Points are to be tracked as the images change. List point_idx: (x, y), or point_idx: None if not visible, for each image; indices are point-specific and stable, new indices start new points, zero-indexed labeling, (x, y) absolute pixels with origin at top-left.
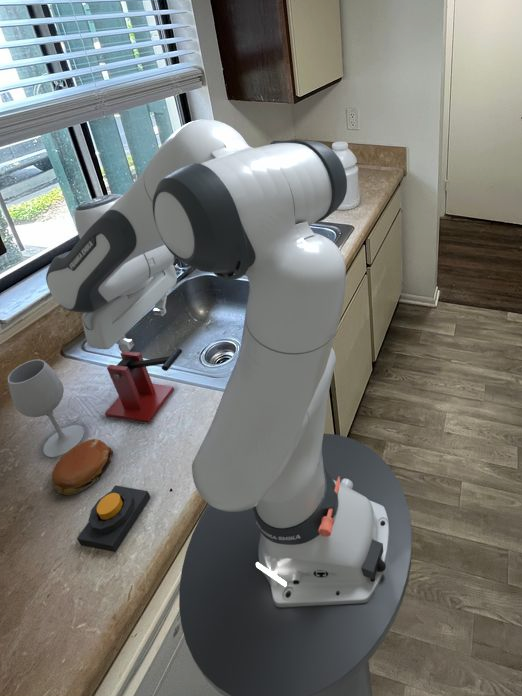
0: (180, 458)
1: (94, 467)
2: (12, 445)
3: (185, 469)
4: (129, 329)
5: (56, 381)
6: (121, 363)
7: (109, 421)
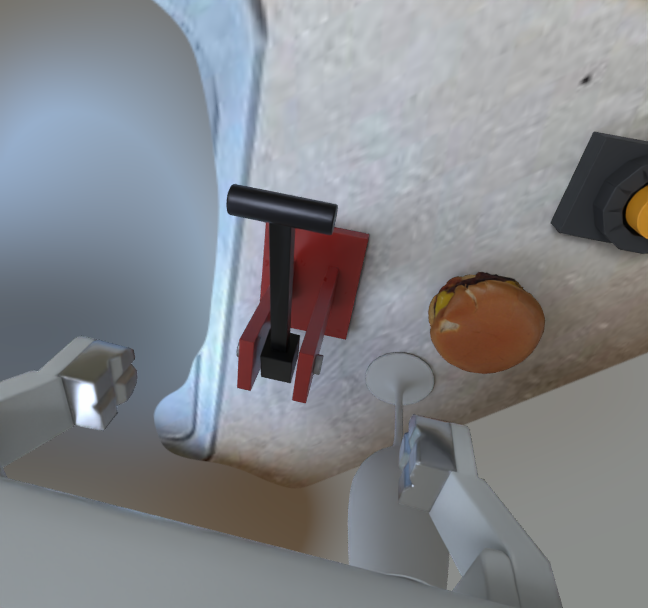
0: (488, 97)
1: (516, 298)
2: None
3: (528, 63)
4: (465, 598)
5: (384, 502)
6: (280, 373)
7: (358, 321)
